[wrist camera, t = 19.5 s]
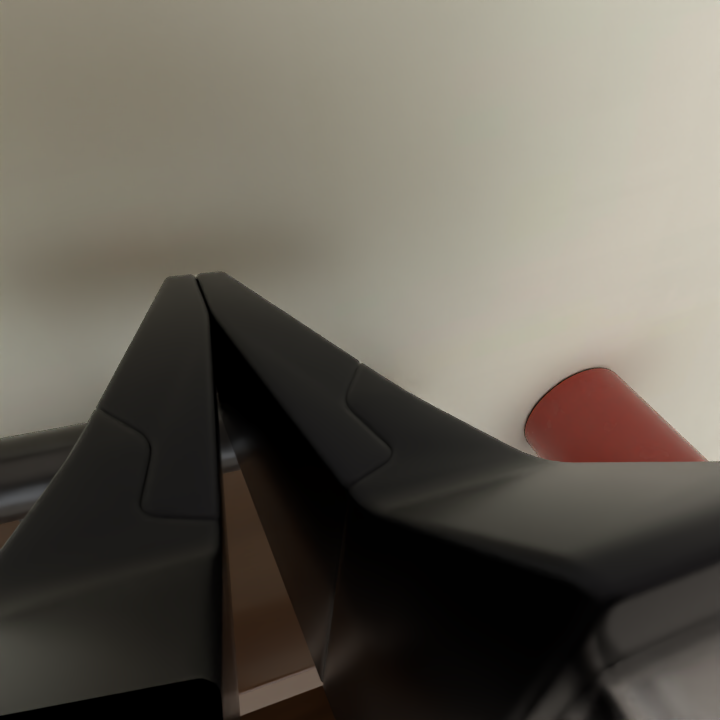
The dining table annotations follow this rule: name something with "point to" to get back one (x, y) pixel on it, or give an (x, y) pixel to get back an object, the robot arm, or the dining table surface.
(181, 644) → the robot arm
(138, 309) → the dining table surface
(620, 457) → the tin
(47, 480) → the drawer
